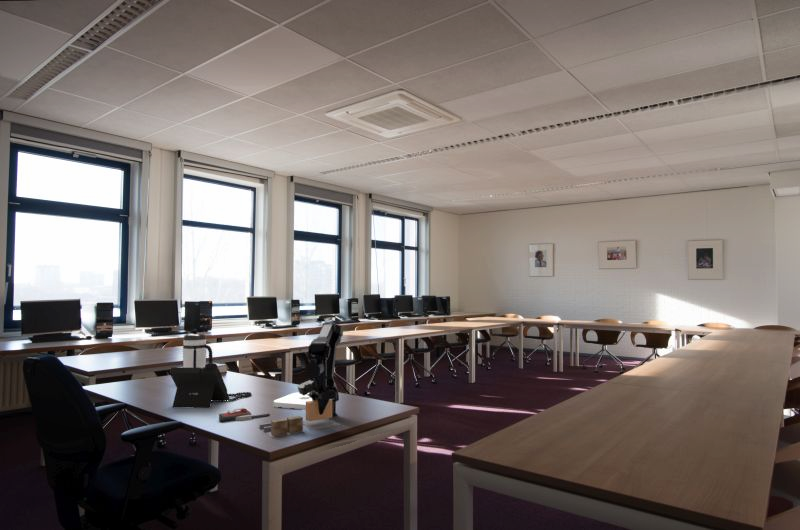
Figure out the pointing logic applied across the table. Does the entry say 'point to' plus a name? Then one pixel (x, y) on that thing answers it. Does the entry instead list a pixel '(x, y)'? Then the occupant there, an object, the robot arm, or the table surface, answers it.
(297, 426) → the offcut
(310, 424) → the mat
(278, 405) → the white plate
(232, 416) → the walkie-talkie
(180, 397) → the office phone
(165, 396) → the table surface
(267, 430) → the rack
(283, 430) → the offcut
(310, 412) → the light brown flat block
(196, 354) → the coffee press
